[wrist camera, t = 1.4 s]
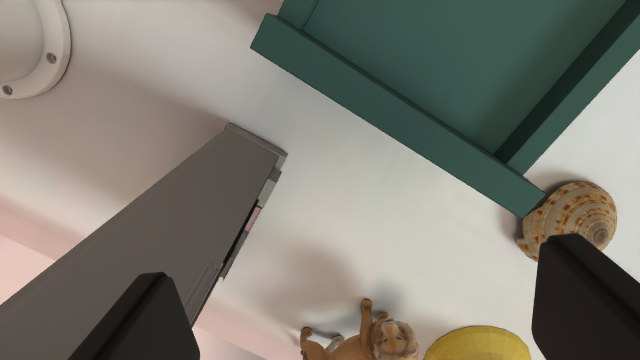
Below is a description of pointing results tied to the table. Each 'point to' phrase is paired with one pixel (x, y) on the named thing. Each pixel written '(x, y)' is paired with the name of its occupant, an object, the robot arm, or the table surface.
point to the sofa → (460, 74)
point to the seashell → (571, 217)
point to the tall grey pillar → (148, 247)
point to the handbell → (479, 345)
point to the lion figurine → (366, 341)
